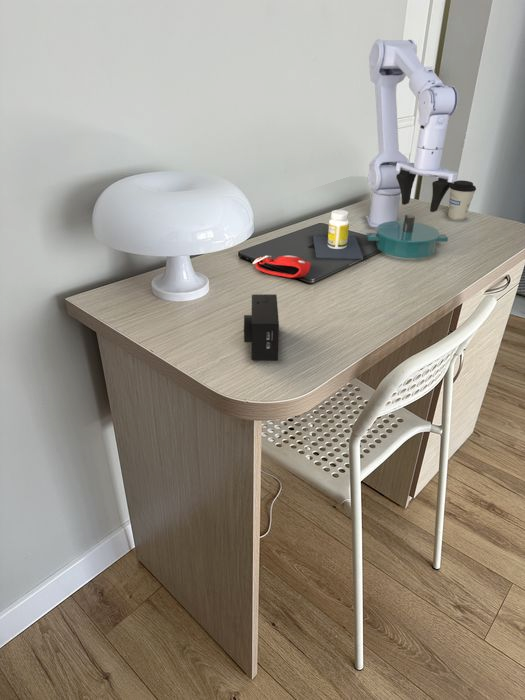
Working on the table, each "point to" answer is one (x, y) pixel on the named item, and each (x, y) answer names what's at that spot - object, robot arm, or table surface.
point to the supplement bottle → (338, 229)
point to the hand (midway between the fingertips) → (419, 207)
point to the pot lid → (407, 231)
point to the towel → (347, 253)
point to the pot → (405, 246)
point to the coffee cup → (460, 198)
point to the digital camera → (263, 327)
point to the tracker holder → (286, 261)
